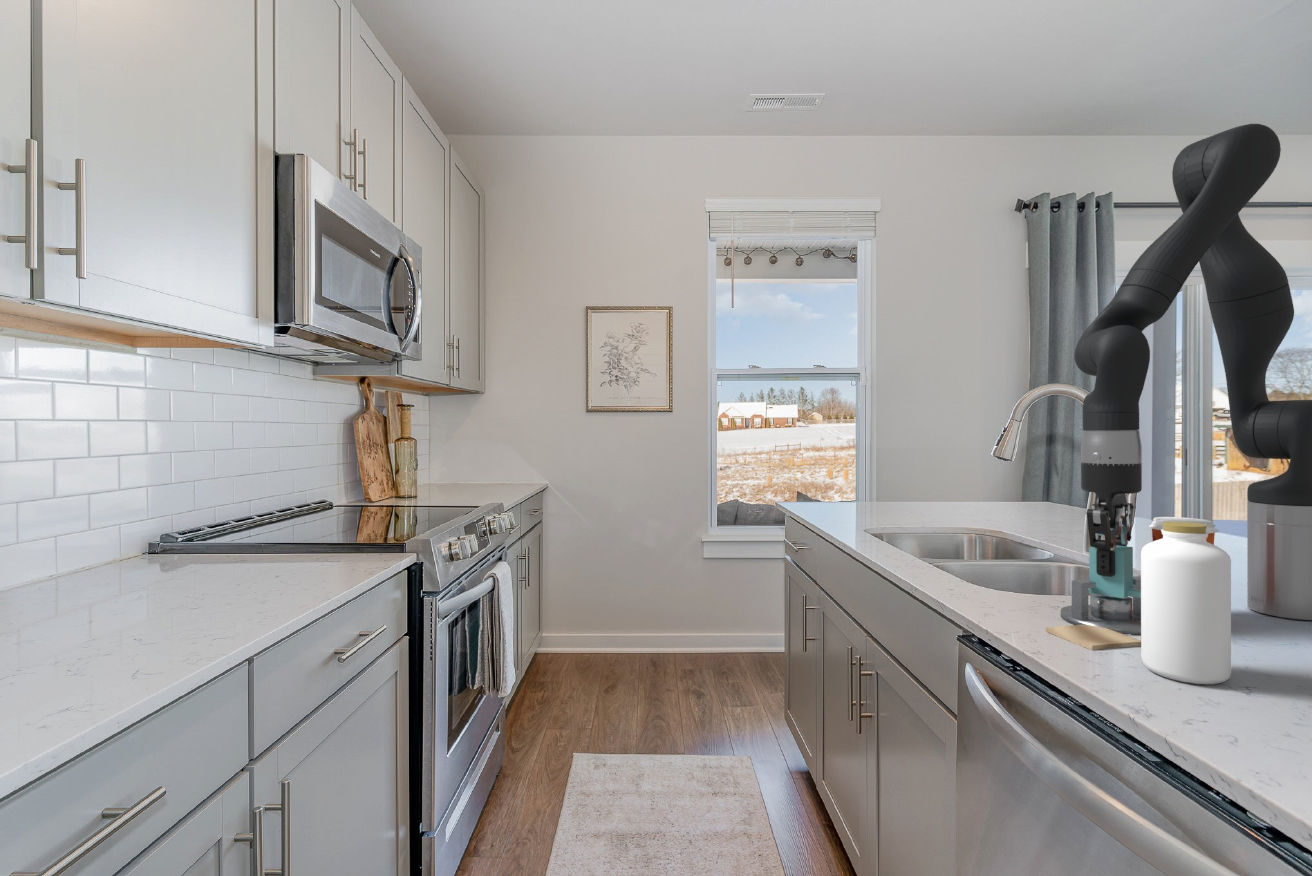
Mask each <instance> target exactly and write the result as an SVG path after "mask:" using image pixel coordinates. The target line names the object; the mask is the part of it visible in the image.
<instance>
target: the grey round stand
mask: <svg viewBox="0 0 1312 876" xmlns="http://www.w3.org/2000/svg"><path fill="white" fill-rule="evenodd" d="M1088 588H1096V582H1093V581H1090V579H1075V580H1074V579H1073V580H1072V579H1071V605H1066V606H1063V607H1061V609H1060V618H1061V619H1062V620H1063V621H1065V622H1067V623H1069V624H1072V625H1084V624H1087V625H1092V626H1096V627H1102V628H1107V629H1110V630H1113V631H1116V632H1118V633H1121V634H1131V635H1130V636H1141V598H1137V597H1130V596H1128V597H1126V598H1118V597H1112V596H1106V595H1099V594H1093V593H1089V590H1088ZM1133 590H1140V591H1141V575H1140V576H1139V575H1138V576H1137V575H1136V576H1134V575H1133ZM1089 594H1090V596H1089ZM1089 602H1090V604H1089Z"/></svg>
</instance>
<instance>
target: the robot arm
mask: <svg viewBox="0 0 1312 876" xmlns="http://www.w3.org/2000/svg"><path fill="white" fill-rule="evenodd" d="M1281 151H1282V149H1281V141H1280V139H1279V137H1278V135H1277V134H1276V131H1274V130H1273V129H1272V128H1271V127H1269V126H1267V125H1265V124H1262V123H1261V124H1260V123H1248V124H1243V125H1238V126H1235V127H1232V128H1230V129H1227V130H1224V131H1221V132H1219V133H1216V134H1214V135H1210V136H1208V137H1205V138H1202V139H1200V140H1197V141H1196V142H1193V143H1190V144H1189V145H1187V146H1185V147H1183V148H1182V149H1181V150H1180V151H1179V153H1178V154H1177V156H1176V157H1175V160H1174V162H1173V166H1172V172H1171V173H1172V176H1171V177H1172V179H1171V180H1172V185H1173V188H1174V189H1173V190H1174V192H1175V196H1176V200H1177V201H1178V204H1179V207H1180V209H1181V212H1182V214H1181V215H1180V216H1179V217H1178V218H1177V220H1175V222H1173V223H1172V224H1171V225H1170V226H1169V227H1168V228H1167V229H1166V230H1165V231H1164V232H1162V234H1161V235H1160V236H1158V237H1157V238H1156V239H1155V240H1154V241H1153V242H1152V243H1151V244H1150V245H1149V246H1148V247H1147V248H1146V249H1145V250H1144V251H1143V252H1142V253H1141V255H1140V256H1139V257H1138V258H1137V260H1136V261H1135V262H1134V264H1133V265H1132V267H1131V268H1130V270H1129V271H1128V273H1127V275H1126V276H1125V278H1124V279H1123V281H1122V282H1121V284H1120V285H1119V288H1118V289H1117V290H1116V292H1115V294H1114V296H1113V298H1112V299H1111V301H1110V302H1109V303H1108V304H1107V305H1106V306H1105V307H1104V308H1103V309H1102V310H1101V312H1100V313H1099V314H1098V315H1097V316H1096V317H1095V319H1094V320H1093V321H1092V322H1091V323H1090V324H1089V325H1088V327H1087V328H1086V329H1085V331H1083V333H1082V334H1081V336H1080V337H1079V339H1078V341H1077V344H1076V345H1075V350H1074V355H1073V356H1074V357H1073V358H1074V362H1075V364H1076V366H1077V368H1078V369H1079V370H1080V371H1081V372H1082V373H1084V374H1086V375H1089V376H1093V377H1095V383H1094V388H1093V390H1092V392H1089V393H1088V394H1087V395H1086V396H1085V397H1084V398H1083V403H1082V436H1081V443H1080V488H1081V490H1083V492H1089V493H1094V494H1095V497H1094V503H1092V506H1091V508H1087V510H1086V519H1087V528H1088V529H1087V530H1088V537H1089V539H1088V540H1089V547H1094V549H1095V550H1096V572H1097V574H1098V575H1100V576H1108V577H1112V576H1114V575H1115V550H1116V545H1118V546H1128V544H1129V542H1131V540H1132V528H1133V527H1132V526H1133V516H1134V509H1135V506H1134V503H1133V502H1132V503H1131V502H1128V501H1127V494H1128V495H1131V494H1138V493H1140V492H1141V491H1142V489H1143V481H1142V480H1143V479H1142V477H1143V476H1142V475H1143V474H1142V473H1143V471H1142V470H1143V469H1142V467H1143V466H1142V465H1143V463H1142V461H1143V457H1142V456H1143V455H1142V454H1143V453H1142V451H1143V450H1142V439H1141V434H1140V433H1141V431H1140V405H1139V404H1140V401H1141V400H1140V399H1141V396H1142V394H1143V391H1144V386H1145V383H1146V379H1147V375H1148V370H1149V366H1150V362H1151V361H1150V359H1151V349H1150V345H1149V341H1148V339H1147V337H1146V335H1145V334H1144V333H1143V332H1144V330H1145V329H1146V328H1148V327H1149V326H1151V325H1152V324H1154V323H1156V322H1158V321H1159V320H1160V319H1162V318H1163V316H1164V315H1166V313H1167V311H1168V310H1169V308H1170V307H1171V305H1172V303H1173V302H1174V300H1175V298H1176V297H1177V296H1178V294H1179V293H1180V290H1181V289H1182V288H1183V286H1184V284H1185V283H1186V281H1187V280H1188V278H1189V276H1190V275H1191V274H1192V272H1193V271H1194V269H1195V268H1196V266H1197V265H1198V263H1199V267H1200V270H1201V275H1202V278H1203V282H1204V286H1205V291H1206V298H1207V302H1208V306H1209V307H1208V308H1209V311H1210V317H1211V319H1212V320H1211V321H1212V323H1213V327H1214V330H1215V333H1216V338H1217V341H1218V342H1217V343H1218V345H1219V349H1220V354H1221V359H1222V363H1223V368H1224V374H1225V381H1226V389H1227V397H1228V408H1229V415H1230V423H1231V430H1232V435H1233V439H1234V442H1235V443H1236V446H1237V448H1238V450H1239V451H1240V452H1241V454H1243V456H1246V457H1248V458H1253V459H1263V460H1264V459H1269V460H1270V459H1273V460H1289V463H1288V468H1287V470H1286V471H1284V472H1283V473H1281V474H1279V475H1278V476H1274V477H1272V478H1268V479H1263V480H1258V481H1255V482H1252V483H1250V484H1248V486H1247V492H1246V493H1247V494H1246V495H1247V497H1246V498H1247V499H1246V500H1247V506H1246V508H1247V514H1246V515H1247V516H1246V517H1247V519H1246V520H1247V523H1246V524H1247V531H1246V532H1247V536H1246V538H1247V539H1246V541H1247V543H1246V544H1247V547H1246V548H1247V561H1246V562H1247V568H1246V569H1247V581H1246V583H1247V584H1246V587H1247V597H1246V598H1247V609H1250V610H1252V611H1255V612H1257V613H1260V614H1264V615H1268V616H1274V617H1277V618H1285V619H1292V620H1302V621H1303V620H1305V621H1312V399H1290V400H1289V399H1288V400H1269V397H1268V394H1267V386H1266V379H1267V378H1266V377H1267V376H1266V375H1267V371H1268V368H1269V366H1270V364H1271V361H1272V359H1273V358H1274V356H1275V353H1277V351H1278V349H1279V347H1280V345H1281V344H1282V343H1283V341H1284V339H1285V338H1286V335H1287V334H1288V332H1289V330H1290V328H1291V326H1292V324H1293V321H1294V316H1295V307H1294V301H1293V297H1292V293H1291V288H1290V284H1289V279H1288V276H1287V272H1286V270H1285V269H1284V268H1283V266H1282V265H1281V264H1280V262H1279V261H1278V260H1277V259H1276V258H1275V256H1274V255H1273V254H1271V253H1270V252H1269V251H1268V250H1267V248H1265V247H1264V246H1263V244H1261V243H1260V242H1258V240H1256V239H1255V238H1254V237H1253V235H1252V234H1251V233H1250V232H1249V231H1248V230H1247V228H1246V227H1245V225H1244V224H1243V222H1242V220H1241V217H1240V215H1239V214H1240V212H1241V210H1243V209H1244V207H1245V206H1246V205H1247V204H1248V203H1249V201H1251V199H1253V198H1254V196H1255V195H1256V193H1258V192H1259V191H1260V189H1261V188H1262V187H1263V186H1264V185H1265V183H1266V182H1267V181H1269V179H1270V177H1271V176H1272V174H1273V173H1274V171H1276V170H1275V169H1276V167H1277V166H1278V163H1279V161H1280V158H1281ZM1102 536H1104V539H1102Z"/></svg>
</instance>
